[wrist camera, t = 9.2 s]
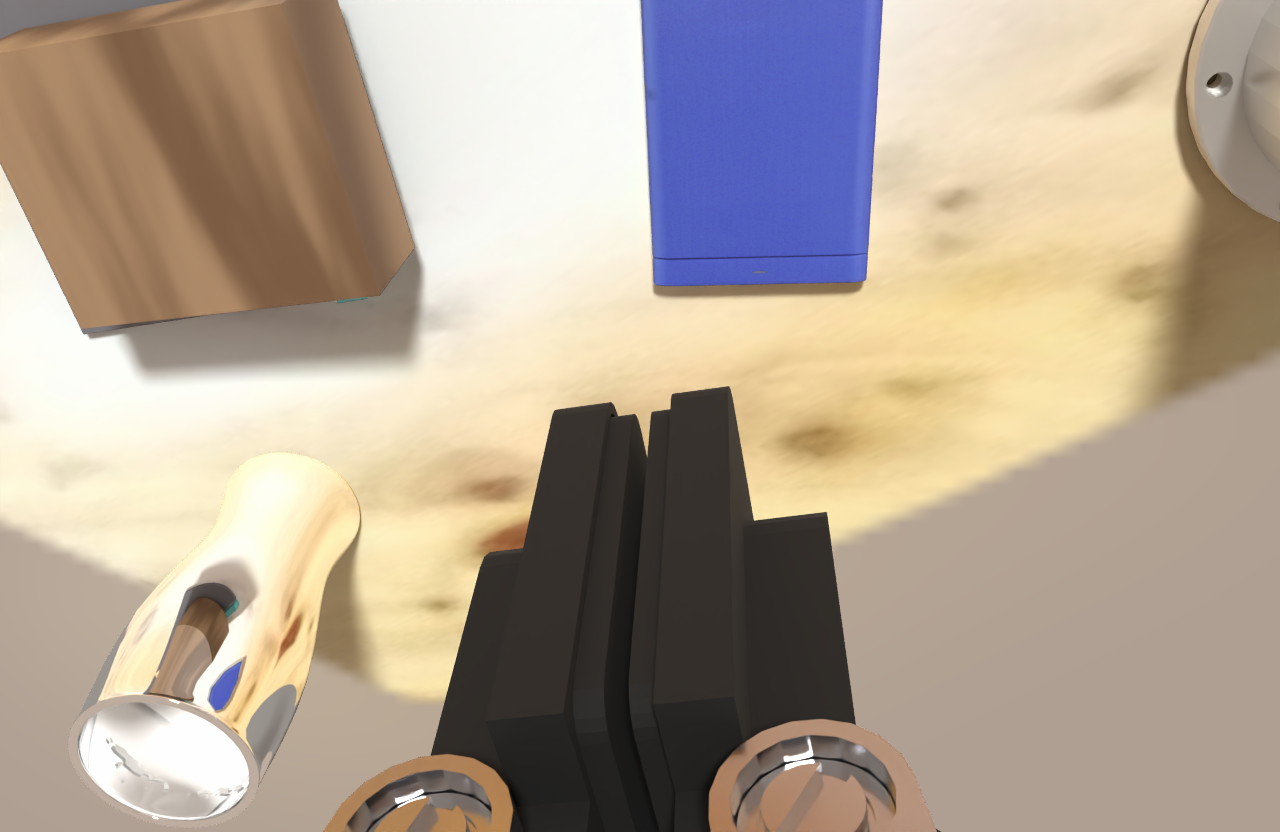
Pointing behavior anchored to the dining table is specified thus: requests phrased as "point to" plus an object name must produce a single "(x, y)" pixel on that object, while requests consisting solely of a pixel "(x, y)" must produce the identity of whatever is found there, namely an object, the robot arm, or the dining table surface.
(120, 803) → the beer glass
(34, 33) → the slab
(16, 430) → the dining table surface
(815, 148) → the hard drive
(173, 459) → the dining table surface
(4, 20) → the mat
